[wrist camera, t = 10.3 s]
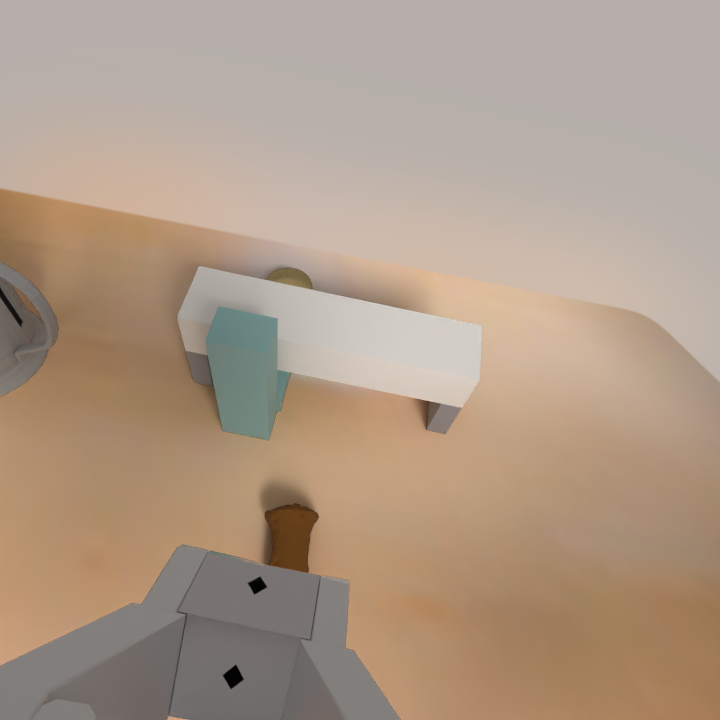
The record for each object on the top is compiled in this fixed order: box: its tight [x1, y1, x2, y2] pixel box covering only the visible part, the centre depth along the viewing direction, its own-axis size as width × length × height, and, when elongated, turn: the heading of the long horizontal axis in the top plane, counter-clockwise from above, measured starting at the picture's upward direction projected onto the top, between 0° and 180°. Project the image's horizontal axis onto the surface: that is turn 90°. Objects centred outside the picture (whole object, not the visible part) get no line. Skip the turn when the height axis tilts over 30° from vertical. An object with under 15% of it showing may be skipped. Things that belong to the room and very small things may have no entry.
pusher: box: [205, 306, 291, 440], centre depth 38 cm, size 4×12×12 cm, turn 171°
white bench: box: [177, 266, 482, 434], centre depth 40 cm, size 20×4×8 cm, turn 81°
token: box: [266, 268, 312, 290], centre depth 47 cm, size 4×4×2 cm
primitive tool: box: [265, 503, 319, 573], centre depth 31 cm, size 19×6×4 cm, turn 3°
